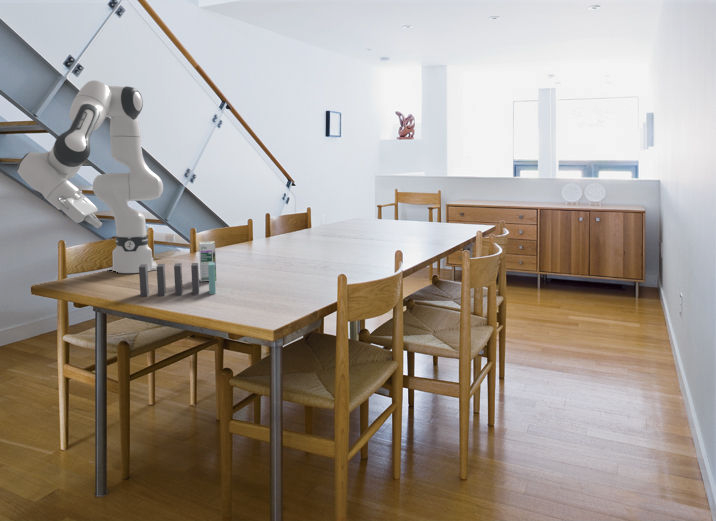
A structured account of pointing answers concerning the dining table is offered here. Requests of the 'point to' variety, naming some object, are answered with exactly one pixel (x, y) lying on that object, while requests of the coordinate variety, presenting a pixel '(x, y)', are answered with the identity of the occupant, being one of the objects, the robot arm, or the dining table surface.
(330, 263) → the dining table surface
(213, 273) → the domino
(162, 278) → the domino
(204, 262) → the syrup box
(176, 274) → the domino
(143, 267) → the domino
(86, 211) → the robot arm
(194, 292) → the domino
